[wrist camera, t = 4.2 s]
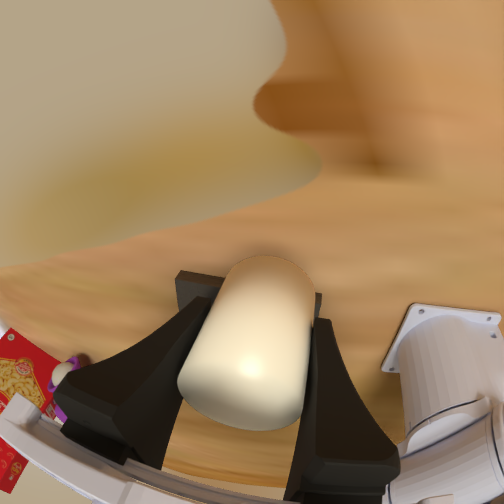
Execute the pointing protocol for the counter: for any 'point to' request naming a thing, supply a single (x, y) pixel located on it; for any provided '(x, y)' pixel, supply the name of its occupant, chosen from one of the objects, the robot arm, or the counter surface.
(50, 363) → the food packaging
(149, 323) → the counter surface
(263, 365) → the plug
